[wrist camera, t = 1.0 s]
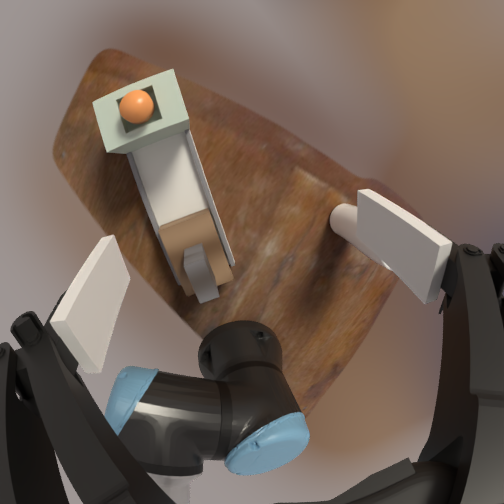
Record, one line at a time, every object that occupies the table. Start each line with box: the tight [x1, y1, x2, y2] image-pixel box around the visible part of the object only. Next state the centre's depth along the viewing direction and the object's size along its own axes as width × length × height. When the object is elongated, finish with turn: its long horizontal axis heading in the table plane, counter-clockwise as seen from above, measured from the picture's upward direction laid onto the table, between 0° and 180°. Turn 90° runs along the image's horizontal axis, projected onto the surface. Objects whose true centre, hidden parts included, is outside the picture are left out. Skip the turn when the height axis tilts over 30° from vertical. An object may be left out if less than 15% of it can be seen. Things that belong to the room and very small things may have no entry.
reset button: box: [119, 90, 155, 124], centre depth 22 cm, size 3×3×2 cm
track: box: [126, 129, 235, 286], centre depth 37 cm, size 20×9×2 cm, turn 17°
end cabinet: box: [93, 69, 190, 154], centre depth 28 cm, size 6×9×11 cm, turn 107°
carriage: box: [158, 208, 234, 304], centre depth 34 cm, size 10×7×9 cm
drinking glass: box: [330, 204, 391, 270], centre depth 37 cm, size 7×7×15 cm
